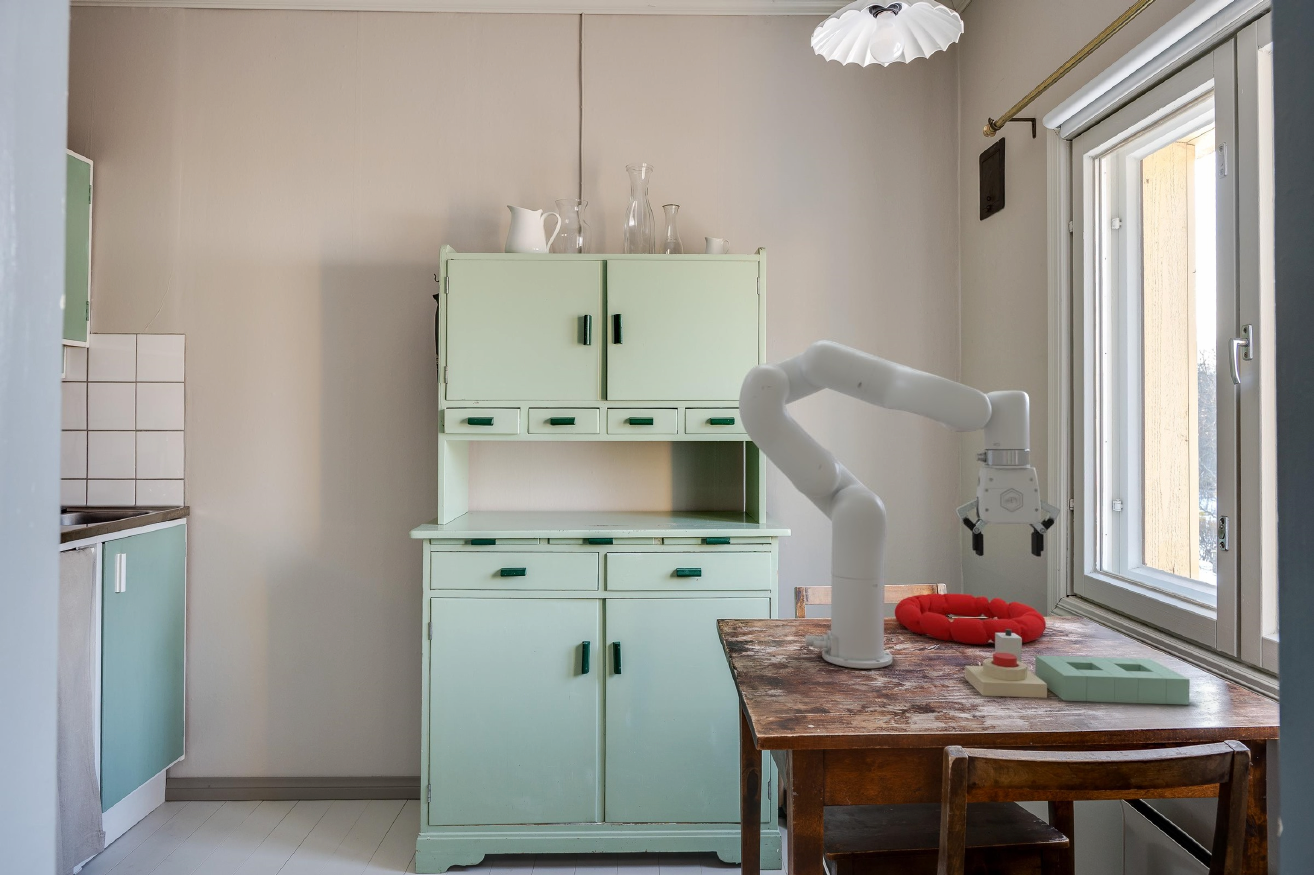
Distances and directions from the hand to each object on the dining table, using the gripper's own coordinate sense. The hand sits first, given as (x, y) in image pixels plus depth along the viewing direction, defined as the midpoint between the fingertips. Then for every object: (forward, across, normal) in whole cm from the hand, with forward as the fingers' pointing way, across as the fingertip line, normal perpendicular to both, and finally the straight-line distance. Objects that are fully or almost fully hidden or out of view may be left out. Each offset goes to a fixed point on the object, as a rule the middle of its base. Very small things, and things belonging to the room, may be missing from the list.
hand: (1007, 555), depth 142 cm
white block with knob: (+20, 0, -1) cm, 20 cm away
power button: (+16, -4, -12) cm, 21 cm away
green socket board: (+20, +12, -11) cm, 26 cm away
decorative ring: (+20, -1, +28) cm, 35 cm away
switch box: (+20, -4, -12) cm, 24 cm away
